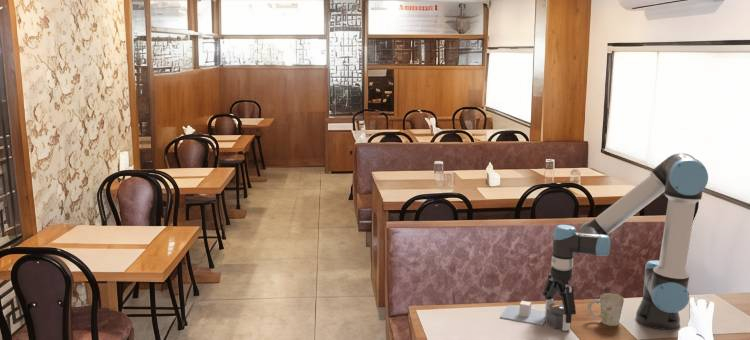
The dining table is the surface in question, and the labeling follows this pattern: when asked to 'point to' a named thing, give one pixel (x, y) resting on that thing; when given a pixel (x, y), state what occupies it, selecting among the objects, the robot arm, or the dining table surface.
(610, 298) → the mug
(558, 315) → the knob
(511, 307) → the shaft board
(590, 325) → the dining table surface
